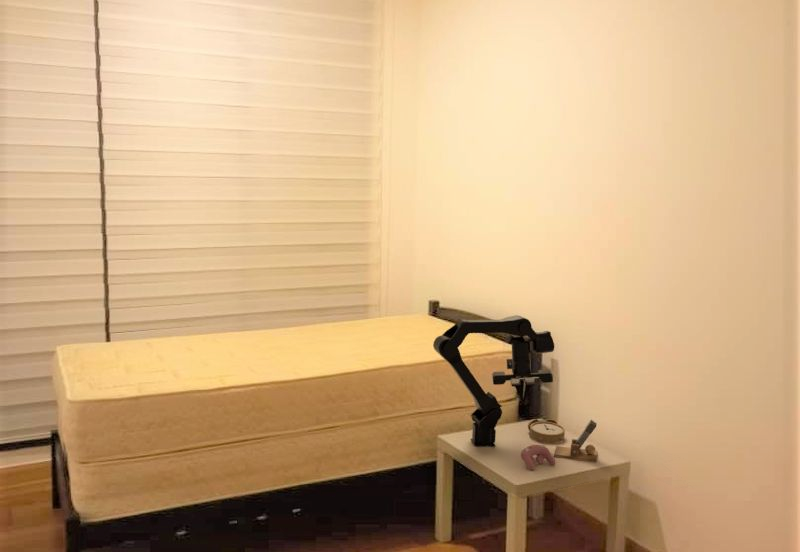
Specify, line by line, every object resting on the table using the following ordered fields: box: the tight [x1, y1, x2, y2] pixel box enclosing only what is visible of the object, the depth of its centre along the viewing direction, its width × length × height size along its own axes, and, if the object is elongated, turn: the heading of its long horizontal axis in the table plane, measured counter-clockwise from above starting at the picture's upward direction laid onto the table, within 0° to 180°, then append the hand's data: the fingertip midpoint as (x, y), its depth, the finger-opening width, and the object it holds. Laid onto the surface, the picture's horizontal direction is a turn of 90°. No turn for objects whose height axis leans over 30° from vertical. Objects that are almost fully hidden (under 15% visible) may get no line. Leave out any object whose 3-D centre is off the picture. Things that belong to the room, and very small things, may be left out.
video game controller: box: [520, 444, 556, 471], centre depth 219 cm, size 10×5×7 cm, turn 123°
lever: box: [574, 419, 597, 449], centre depth 228 cm, size 2×3×10 cm, turn 164°
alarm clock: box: [527, 418, 566, 444], centre depth 246 cm, size 11×5×15 cm
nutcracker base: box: [553, 438, 598, 463], centre depth 229 cm, size 12×8×4 cm, turn 73°
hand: (523, 403), depth 239 cm, fingers closed
